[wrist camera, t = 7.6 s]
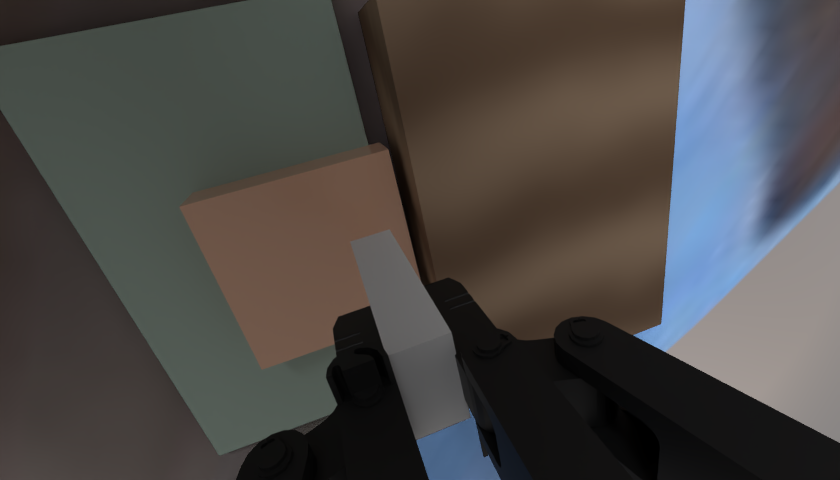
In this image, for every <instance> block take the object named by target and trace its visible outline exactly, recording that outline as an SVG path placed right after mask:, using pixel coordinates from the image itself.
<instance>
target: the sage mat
mask: <svg viewBox="0 0 840 480" xmlns="http://www.w3.org/2000/svg"><path fill="white" fill-rule="evenodd" d="M0 110H1V111H2V113H3V115H4V116H5V118H6V119H7V121H8V123H9V124H10V126H11V127H12V129H13V130H14V132H15V134H16V135H17V137H18V138H19V140H20V142H21V143H22V145H23V146H24V148H25V149H26V151H27V153H28V154H29V156H30V157H31V159H32V161H33V162H34V164H35V165H36V167H37V168H38V170H39V172H40V173H41V175H42V176H43V178H44V180H45V181H46V183H47V184H48V186H49V187H50V189H51V191H52V192H53V194H54V195H55V197H56V198H57V200H58V202H59V203H60V205H61V206H62V208H63V210H64V211H65V213H66V214H67V216H68V217H69V219H70V221H71V222H72V224H73V225H74V227H75V229H76V230H77V232H78V233H79V235H80V236H81V238H82V240H83V241H84V243H85V244H86V246H87V248H88V249H89V251H90V252H91V254H92V255H93V257H94V259H95V260H96V262H97V263H98V265H99V267H100V268H101V270H102V271H103V273H104V274H105V276H106V278H107V279H108V281H109V282H110V284H111V285H112V287H113V289H114V290H115V292H116V293H117V295H118V297H119V298H120V300H121V301H122V303H123V304H124V306H125V308H126V309H127V311H128V312H129V314H130V316H131V317H132V319H133V320H134V322H135V323H136V325H137V327H138V328H139V330H140V331H141V333H142V335H143V336H144V338H145V339H146V341H147V342H148V344H149V346H150V347H151V349H152V350H153V352H154V354H155V355H156V357H157V358H158V360H159V361H160V363H161V365H162V366H163V368H164V369H165V371H166V372H167V374H168V376H169V377H170V379H171V380H172V382H173V384H174V385H175V387H176V388H177V390H178V391H179V393H180V395H181V396H182V398H183V399H184V401H185V403H186V404H187V406H188V407H189V409H190V410H191V412H192V414H193V415H194V417H195V418H196V420H197V422H198V423H199V425H200V426H201V428H202V429H203V431H204V433H205V434H206V436H207V437H208V439H209V441H210V442H211V444H212V445H213V447H214V448H215V450H216V452H217V453H218V455H219V456H220V455H223V454H226V453H228V452H231V451H234V450H236V449H239V448H242V447H245V446H247V445H250V444H253V443H255V442H258V441H261V440H263V439H265V438H267V437H268V436H270V435H271V434H274V433H277V432H280V431H283V430H290V429H293V428H295V427H298V426H301V425H303V424H306V423H309V422H311V421H314V420H317V419H319V418H322V417H325V416H327V415H330V414H331V413H332V412H333V411H334V410H335V408H336V406H337V403H336V400H335V398H334V396H333V393H332V391H331V389H330V386H329V384H328V382H327V379H326V373H327V368H328V366H329V365H330V363H331V362H332V360H333V359H334V358H335V357H336V350H335V344H334V345H331V346H328V347H325V348H323V349H320V350H317V351H314V352H311V353H308V354H306V355H303V356H300V357H297V358H294V359H291V360H289V361H286V362H283V363H280V364H277V365H274V366H271V367H269V368H266V369H263V370H262V369H261V367H260V365H259V363H258V361H257V359H256V357H255V355H254V353H253V351H252V350H251V348H250V346H249V344H248V342H247V340H246V338H245V336H244V334H243V332H242V330H241V328H240V326H239V324H238V322H237V320H236V318H235V316H234V314H233V312H232V310H231V308H230V306H229V304H228V302H227V300H226V298H225V296H224V294H223V292H222V290H221V288H220V286H219V284H218V282H217V280H216V279H215V277H214V275H213V273H212V271H211V269H210V267H209V265H208V263H207V261H206V259H205V257H204V255H203V253H202V251H201V249H200V247H199V245H198V243H197V241H196V239H195V237H194V235H193V233H192V231H191V229H190V227H189V225H188V223H187V221H186V219H185V217H184V215H183V213H182V211H181V209H180V208H179V206H180V205H181V204H182V203H183V202H184V201H185V200H186V199H187V198H188V197H189V196H190V195H191V194H192V193H193V192H197V191H201V190H204V189H208V188H212V187H215V186H219V185H223V184H227V183H230V182H234V181H238V180H241V179H245V178H249V177H252V176H256V175H260V174H264V173H267V172H271V171H275V170H278V169H282V168H286V167H290V166H293V165H297V164H301V163H304V162H308V161H312V160H315V159H319V158H323V157H327V156H330V155H334V154H338V153H341V152H345V151H349V150H353V149H356V148H360V147H364V146H367V145H368V141H367V138H366V134H365V130H364V126H363V122H362V118H361V114H360V110H359V106H358V103H357V99H356V95H355V91H354V87H353V83H352V79H351V75H350V71H349V68H348V64H347V60H346V56H345V52H344V48H343V44H342V40H341V36H340V33H339V29H338V25H337V21H336V17H335V13H334V9H333V5H332V1H331V0H246V1H241V2H235V3H230V4H225V5H219V6H214V7H208V8H203V9H198V10H192V11H187V12H181V13H176V14H171V15H165V16H160V17H155V18H149V19H144V20H138V21H133V22H128V23H122V24H117V25H111V26H106V27H101V28H95V29H90V30H85V31H79V32H74V33H68V34H63V35H58V36H52V37H47V38H41V39H36V40H31V41H25V42H20V43H15V44H9V45H4V46H0Z"/></svg>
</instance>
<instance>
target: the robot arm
mask: <svg viewBox="0 0 840 480" xmlns="http://www.w3.org/2000/svg"><path fill="white" fill-rule="evenodd" d="M350 243H351V246H352V249H353V253H354V256H355V259H356V262H357V265H358V268H359V272H360V275H361V278H362V281H363V284H364V287H365V291H366V294H367V297H368V300H369V303H370V306H367V307H365V308H362V309H359V310H356V311H353V312H350V313H347V314H344V315H341V316H338V318H337V320H336V322H335V325H334V327H333V336H334V342H335V350H336V357H335V358H334V359H333V360H332V362H331V363H330V365H329V366H328V368H327V373H326V379H327V382H328V384H329V386H330V389H331V391H332V393H333V396H334V398H335V400H336V403H337V406H336V408H335V410H334V411H333V412H332V413H331V415H330V416H329V417H328V418H327V419H326V420H325V421H323V422H322V423H321V424H320V425H318V426H317V427H315V428H314V429H313V430H311V431H310V432H308V433H307V434H305V435H304V434H302V433H300V432H298V431H296V430H283V431H280V432H277V433H274V434H271V435H270V436H268V437H267V438H265V439H264V440H262V441H261V442H259V443H258V444H257V445H256V446H255V447H254V448H253V449H252V450H251V451H250V453H249V454H248V455H247V457H246V459H245V461H244V462H243V464H242V466H241V468H240V471H239V473H238V476H237V479H236V480H429V479H428V476H427V473H426V470H425V467H424V463H423V460H422V457H421V454H420V451H419V448H418V445H417V442H416V440H418V439H420V438H423V437H425V436H427V435H430V434H432V433H435V432H437V431H440V430H442V429H444V428H447V427H449V426H452V425H454V424H457V423H459V422H461V421H464V420H466V419H469V418H471V417H470V413H469V408H470V410H471V412H472V414H473V416H474V418H475V420H476V425H477V429H478V434H479V439H480V443H481V448H482V452H483V456H484V457H486V456H488V455H489V457H490V459H491V461H492V463H493V465H494V467H495V469H496V471H497V473H498V475H499V477H500V479H501V480H840V443H838V442H837V441H835V440H833V439H831V438H829V437H827V436H825V435H823V434H821V433H819V432H817V431H816V430H814V429H812V428H810V427H808V426H806V425H804V424H802V423H800V422H798V421H796V420H794V419H792V418H790V417H789V416H787V415H785V414H783V413H781V412H779V411H777V410H775V409H773V408H771V407H769V406H768V405H766V404H764V403H762V402H760V401H758V400H756V399H754V398H752V397H750V396H748V395H746V394H744V393H743V392H741V391H738V390H737V389H735V388H733V387H731V386H729V385H727V384H725V383H723V382H721V381H719V380H717V379H716V378H713V377H712V376H710V375H708V374H706V373H704V372H702V371H700V370H698V369H696V368H694V367H693V366H691V365H689V364H686V363H685V362H683V361H681V360H679V359H677V358H675V357H673V356H671V355H669V354H667V353H666V352H664V351H662V350H660V349H658V348H656V347H654V346H652V345H650V344H648V343H646V342H645V341H643V340H641V339H639V338H637V337H635V336H633V335H631V334H629V333H627V332H625V331H623V330H621V329H620V328H618V327H616V326H614V325H612V324H610V323H608V322H606V321H603V320H601V319H598V318H595V317H587V316H579V317H571V318H569V319H566V320H564V321H562V322H561V323H560V324H559V325H558V326H557V327H556V328H555V332H554V338H547V339H538V340H519V339H516V337H514V336H513V335H512V334H511V333H509V332H508V331H505V330H501V329H497V328H496V327H495V325H494V324H493V323H492V322H491V320H490V319H489V318H488V317H487V315H486V314H485V313H484V311H483V310H482V309H481V308H480V306H479V305H478V304H477V303H476V301H474V299H473V298H472V296H471V295H470V294H469V293H468V291H467V290H466V289H465V287H464V286H463V285H462V284H461V283H460V282H458V281H456V280H453V279H451V278H449V277H448V278H445V279H442V280H439V281H436V282H433V283H431V284H428V285H425V286H423V284H422V282H421V281H420V279H419V277H418V276H417V274H416V272H415V271H414V269H413V267H412V266H411V264H410V262H409V261H408V259H407V257H406V256H405V254H404V252H403V251H402V249H401V247H400V246H399V244H398V242H397V241H396V239H395V238H394V236H393V234H392V233H391V231H390V229H389V230H385V231H382V232H379V233H376V234H373V235H369V236H366V237H363V238H360V239H357V240H354V241H350ZM468 407H469V408H468Z"/></svg>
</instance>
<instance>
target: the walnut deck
mask: <svg viewBox="0 0 840 480" xmlns="http://www.w3.org/2000/svg"><path fill="white" fill-rule="evenodd" d="M684 11H685V0H369V1H368V2H367V3H366V4H365V5H364V6H363V8H362V9H361V10H360V11H359V12H358V14H359V19H360V23H361V27H362V32H363V36H364V40H365V44H366V49H367V53H368V57H369V61H370V66H371V70H372V74H373V78H374V83H375V87H376V91H377V95H378V100H379V104H380V108H381V112H382V117H383V121H384V125H385V130H386V134H387V138H388V142H389V147H390V151H391V155H392V159H393V164H394V168H395V172H396V176H397V181H398V185H399V189H400V193H401V198H402V202H403V206H404V211H405V215H406V219H407V223H408V228H409V232H410V236H411V240H412V245H413V249H414V253H415V257H416V262H417V266H418V270H419V274H420V279H421V282H422V284H423V286H425V285H428V284H431V283H433V282H436V281H439V280H442V279H445V278H448V277H449V278H451V279H453V280H456V281H458V282H460V283H461V284H462V285H463V286H464V287H465V289H466V290H467V291H468V293H469V294H470V295H471V296H472V298H473V299H474V301H476V303H477V304H478V305H479V306H480V308H481V309H482V310H483V311H484V313H485V314H486V315H487V317H488V318H489V319H490V320H491V322H492V323H493V324H494V325H495V327H496V328H497V329H501V330H505V331H508V332H509V333H511V334H512V335H513V336H514V337H516V339H519V340H538V339H547V338H554V332H555V328H556V327H557V326H558V325H559V324H560V323H561V322H562V321H564V320H566V319H569V318H571V317H579V316H587V317H595V318H598V319H601V320H603V321H606V322H608V323H610V324H612V325H614V326H616V327H618V328H620V329H621V330H623V331H625V332H627V333H629V334H631V335H634V334H637V333H639V332H642V331H644V330H647V329H649V328H652V327H655V326H657V325H660V324H661V318H662V305H663V292H664V278H665V265H666V252H667V238H668V225H669V211H670V198H671V185H672V171H673V158H674V145H675V131H676V118H677V105H678V91H679V78H680V64H681V51H682V38H683V24H684Z"/></svg>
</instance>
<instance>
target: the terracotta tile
mask: <svg viewBox="0 0 840 480" xmlns="http://www.w3.org/2000/svg"><path fill="white" fill-rule="evenodd" d="M179 208H180V209H181V211H182V213H183V215H184V217H185V219H186V221H187V223H188V225H189V227H190V229H191V231H192V233H193V235H194V237H195V239H196V241H197V243H198V245H199V247H200V249H201V251H202V253H203V255H204V257H205V259H206V261H207V263H208V265H209V267H210V269H211V271H212V273H213V275H214V277H215V279H216V280H217V282H218V284H219V286H220V288H221V290H222V292H223V294H224V296H225V298H226V300H227V302H228V304H229V306H230V308H231V310H232V312H233V314H234V316H235V318H236V320H237V322H238V324H239V326H240V328H241V330H242V332H243V334H244V336H245V338H246V340H247V342H248V344H249V346H250V348H251V350H252V351H253V353H254V355H255V357H256V359H257V361H258V363H259V365H260V367H261V369H262V370H263V369H266V368H269V367H271V366H274V365H277V364H280V363H283V362H286V361H289V360H291V359H294V358H297V357H300V356H303V355H306V354H308V353H311V352H314V351H317V350H320V349H323V348H325V347H328V346H331V345H334V344H335V342H334V336H333V327H334V325H335V322H336V320H337V318H338V316H341V315H344V314H347V313H350V312H353V311H356V310H359V309H362V308H365V307H367V306H370V303H369V300H368V297H367V294H366V291H365V287H364V284H363V281H362V278H361V275H360V272H359V268H358V265H357V262H356V259H355V256H354V253H353V249H352V246H351V243H350V241H354V240H357V239H360V238H363V237H366V236H369V235H373V234H376V233H379V232H382V231H385V230H389V229H390V231H391V233H392V234H393V236H394V238H395V239H396V241H397V242H398V244H399V246H400V247H401V249H402V251H403V252H404V254H405V256H406V257H407V259H408V261H409V262H410V264H411V266H412V267H413V269H414V271H415V272H416V274H417V276H418V277H419V279H420V276H419V272H418V268H417V264H416V260H415V256H414V252H413V248H412V243H411V239H410V235H409V231H408V227H407V223H406V219H405V215H404V211H403V207H402V203H401V199H400V195H399V191H398V186H397V182H396V178H395V174H394V170H393V166H392V162H391V158H390V154H389V150H388V149H387V148H386V147H385V146H383V145H382V144H381V143H380V142H378V143H375V144H371V145H367V146H364V147H360V148H356V149H353V150H349V151H345V152H341V153H338V154H334V155H330V156H327V157H323V158H319V159H315V160H312V161H308V162H304V163H301V164H297V165H293V166H290V167H286V168H282V169H278V170H275V171H271V172H267V173H264V174H260V175H256V176H252V177H249V178H245V179H241V180H238V181H234V182H230V183H227V184H223V185H219V186H215V187H212V188H208V189H204V190H201V191H197V192H193V193H192V194H191V195H190V196H189V197H188V198H187V199H186V200H185V201H184V202H183V203H182V204H181V205H180V206H179ZM420 281H421V280H420Z"/></svg>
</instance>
